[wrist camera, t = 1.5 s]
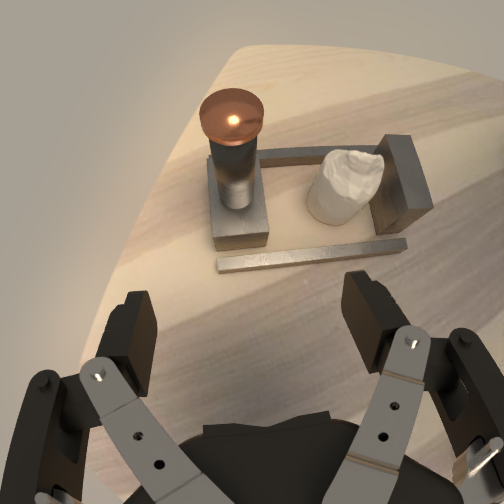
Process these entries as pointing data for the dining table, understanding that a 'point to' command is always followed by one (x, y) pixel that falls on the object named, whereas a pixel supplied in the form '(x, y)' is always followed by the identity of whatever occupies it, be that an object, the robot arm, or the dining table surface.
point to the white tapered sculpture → (344, 185)
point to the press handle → (235, 169)
